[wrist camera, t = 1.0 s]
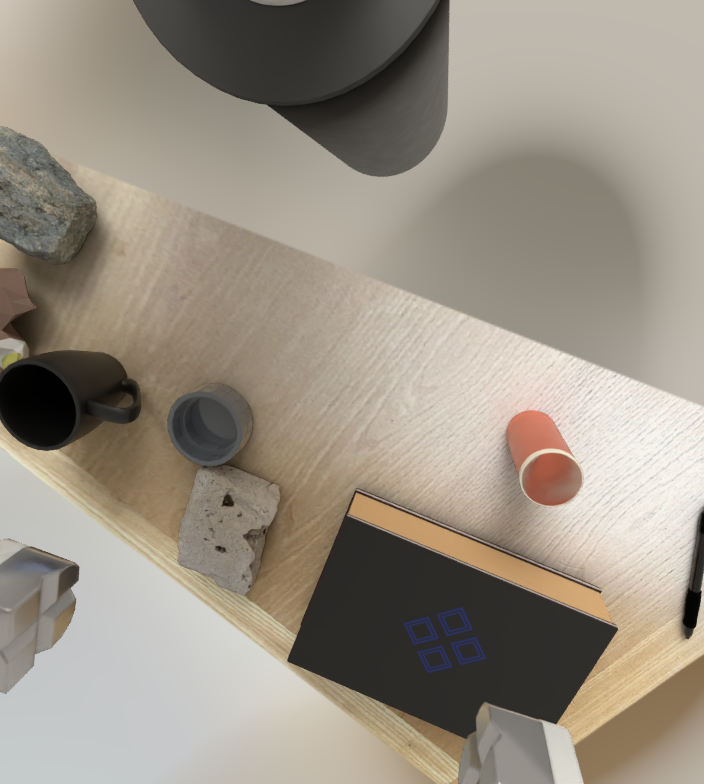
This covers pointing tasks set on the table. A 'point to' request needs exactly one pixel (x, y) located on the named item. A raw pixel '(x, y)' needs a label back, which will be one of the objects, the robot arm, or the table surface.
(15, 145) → the rock
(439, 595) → the book
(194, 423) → the bowl
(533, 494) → the canister
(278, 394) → the table surface
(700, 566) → the pen
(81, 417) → the mug
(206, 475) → the stone
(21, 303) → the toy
